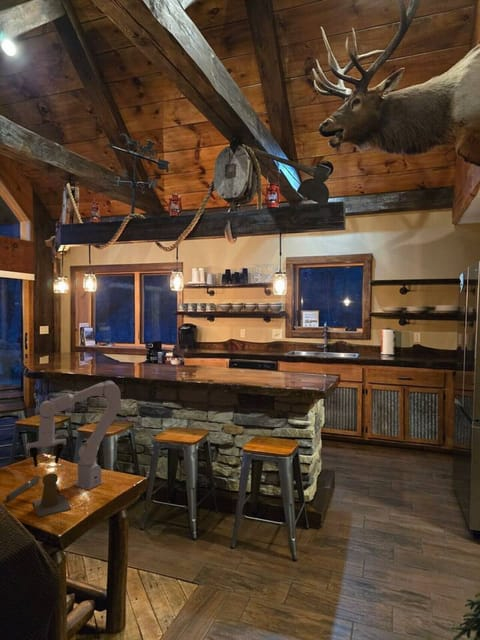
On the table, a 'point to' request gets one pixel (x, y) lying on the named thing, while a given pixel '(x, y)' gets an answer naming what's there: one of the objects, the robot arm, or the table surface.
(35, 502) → the mat
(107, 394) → the robot arm
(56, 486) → the rail
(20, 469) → the table surface
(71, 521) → the table surface
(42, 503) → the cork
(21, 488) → the bar
